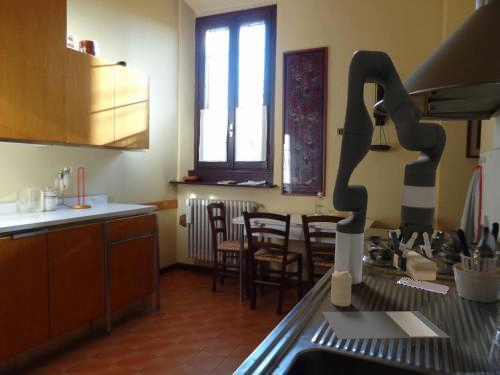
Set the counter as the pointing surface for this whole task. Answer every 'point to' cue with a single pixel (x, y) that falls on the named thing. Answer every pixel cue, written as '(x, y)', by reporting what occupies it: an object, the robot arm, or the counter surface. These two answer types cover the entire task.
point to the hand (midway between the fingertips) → (413, 270)
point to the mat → (382, 325)
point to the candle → (341, 288)
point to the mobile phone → (424, 285)
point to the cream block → (418, 266)
